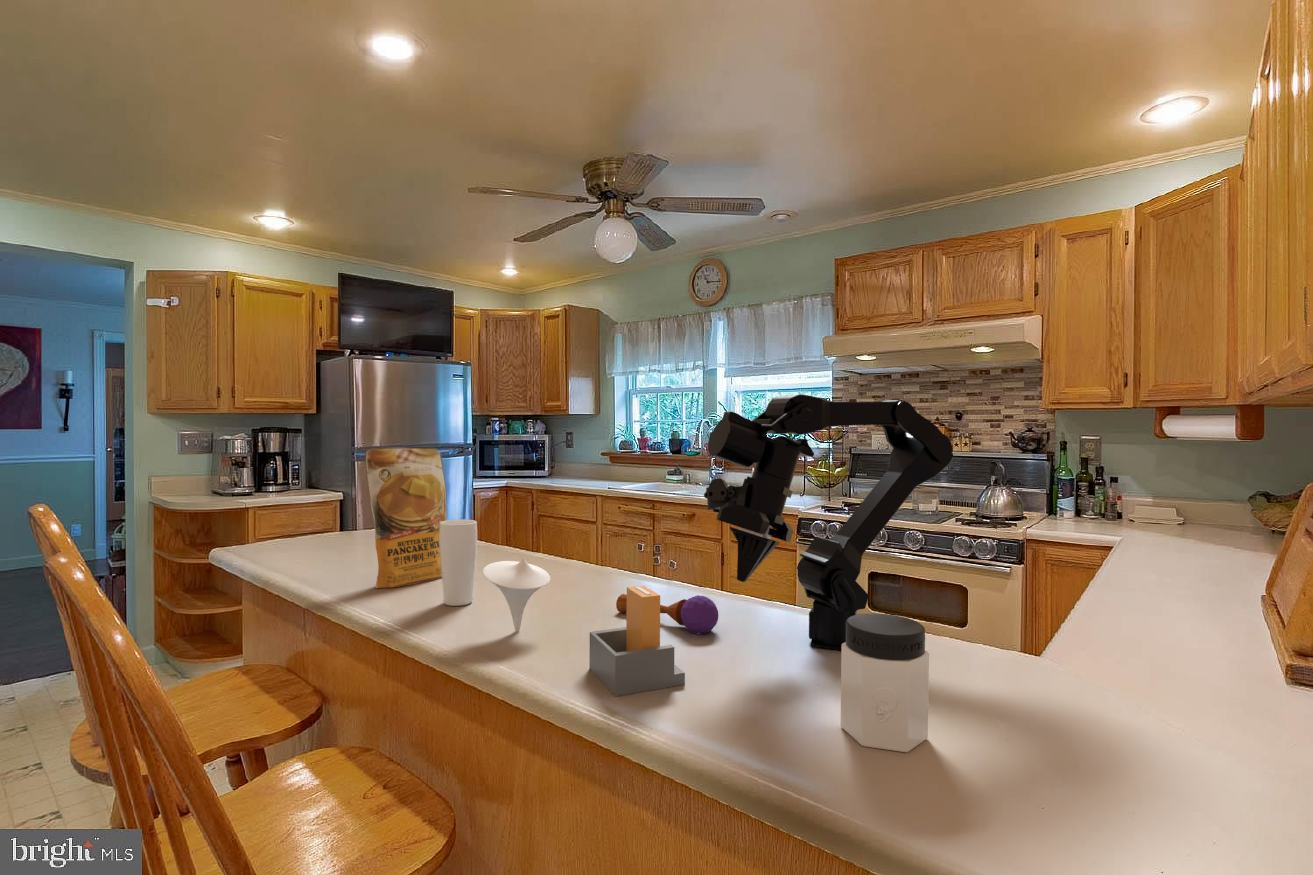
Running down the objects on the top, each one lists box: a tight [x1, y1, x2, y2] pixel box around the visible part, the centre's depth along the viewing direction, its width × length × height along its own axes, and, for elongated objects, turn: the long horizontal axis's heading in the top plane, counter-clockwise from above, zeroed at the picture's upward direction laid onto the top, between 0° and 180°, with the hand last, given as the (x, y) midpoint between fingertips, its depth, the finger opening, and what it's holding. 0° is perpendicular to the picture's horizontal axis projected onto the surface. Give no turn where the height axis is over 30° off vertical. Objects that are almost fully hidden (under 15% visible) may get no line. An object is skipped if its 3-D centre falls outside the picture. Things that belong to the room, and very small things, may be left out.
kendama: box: [615, 593, 719, 635], centre depth 111 cm, size 6×6×20 cm
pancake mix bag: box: [364, 447, 448, 589], centre depth 138 cm, size 7×19×28 cm, turn 142°
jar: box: [840, 612, 930, 754], centre depth 72 cm, size 9×8×12 cm
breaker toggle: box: [625, 585, 661, 651], centre depth 88 cm, size 2×6×10 cm, turn 24°
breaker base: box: [588, 626, 686, 697], centre depth 87 cm, size 10×10×5 cm
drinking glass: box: [439, 518, 478, 607], centre depth 122 cm, size 7×7×15 cm
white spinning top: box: [482, 557, 551, 633], centre depth 106 cm, size 10×11×12 cm
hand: (740, 581), depth 95 cm, fingers closed
